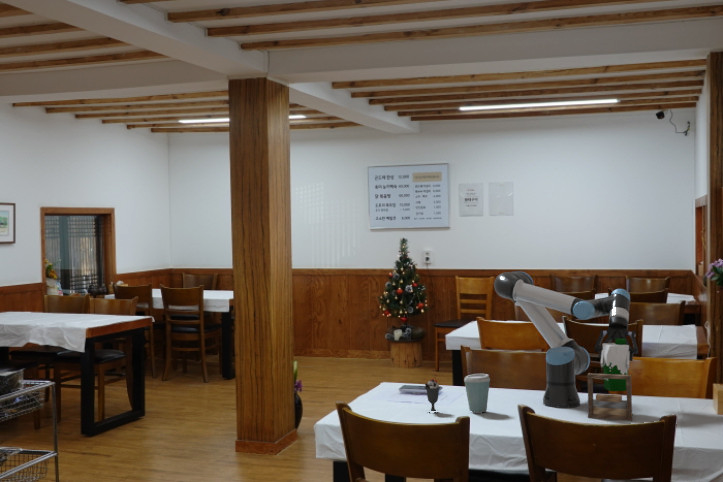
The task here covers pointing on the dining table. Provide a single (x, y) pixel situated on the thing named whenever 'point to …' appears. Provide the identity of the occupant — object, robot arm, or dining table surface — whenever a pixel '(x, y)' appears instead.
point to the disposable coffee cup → (477, 391)
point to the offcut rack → (610, 400)
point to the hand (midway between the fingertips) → (614, 365)
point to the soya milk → (615, 364)
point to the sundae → (432, 392)
